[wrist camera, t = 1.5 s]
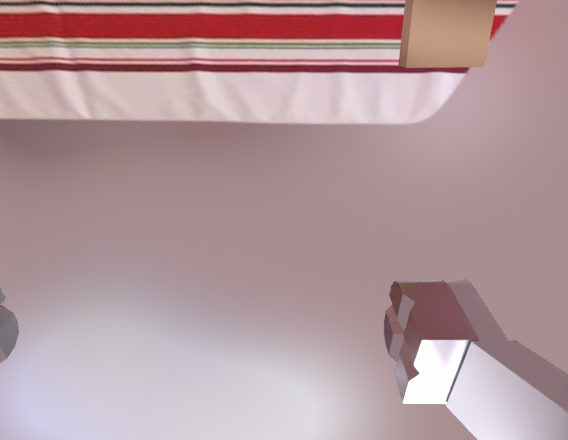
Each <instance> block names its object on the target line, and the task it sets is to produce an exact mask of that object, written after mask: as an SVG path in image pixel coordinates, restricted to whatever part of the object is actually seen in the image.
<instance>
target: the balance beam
mask: <svg viewBox="0 0 568 440" xmlns="http://www.w3.org/2000/svg"><path fill="white" fill-rule="evenodd" d="M496 3H497V0H405V10H404V19H403V29H402V38H401V48H400V57H399V66H402V67H405V68H426V67H484V65H485V59H486V54H487V49H488V44H489V39H490V34H491V28H492V23H493V18H494V13H495V8H496Z"/></svg>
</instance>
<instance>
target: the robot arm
mask: <svg viewBox="0 0 568 440" xmlns="http://www.w3.org/2000/svg"><path fill="white" fill-rule="evenodd" d="M389 296H390V299H391V302H392V306H391V307H389V308H388V309H387V310H386V313H385V319H384V337H385V343H386V347H387V351H388V354H389V356H391V357H392V358H393V359H394V360H395V361H396V362H397V364H396V368H395V372H394V375H395V378H396V381H397V384H398V387H399V391H400V394H401V397H402V400H403V403H437V404H439V403H441V404H446V406H447V407H448V408H449V410H450V411H451V412H452V413H453V414H454V415H455V416H456V417H457V418H458V419H459V420H460V421H461V422H462V423H463V424H464V425H465V426H466V428H467V429H468V430H469V431H470V432H471V433H472V434H473V435H474V436H475V437H476V438H477V439H478V440H568V374H567V373H565V372H564V371H562V370H561V369H559V368H557V367H556V366H554V365H553V364H551V363H550V362H548V361H547V360H545V359H544V358H542V357H541V356H539V355H537V354H536V353H535V352H533V351H531V350H530V349H528V348H527V347H525V346H524V345H522V344H521V343H519V342H518V341H509V340H508V339H507V337H506V336H505V334H504V333H503V331H502V330H501V328H500V327H499V325H498V323H497V322H496V321H495V319H494V317H493V316H492V314H491V313H490V311H489V310H488V308H487V307H486V305H485V303H484V302H483V300H482V299H481V297H480V296H479V294H478V293H477V291H476V290H475V288H474V286H473V285H472V283H471V282H469V281H468V280H465V279H464V280H442V281H439V280H437V281H394V282H393V284H392V285H391V289H390V293H389ZM5 298H6V297H5V295H4V294H3V292H2V290H1V288H0V363H1V362H2V361H4V360H5V359H7V358H8V356H9V355H10V353H11V352H12V350H13V349H14V347H15V345H16V341H17V337H18V334H19V329H18V322H17V319H16V317H15V315H14V313H13V312H11V311H10V310H8V309H7V308H5V307H4V306H2V304H3V302H4V300H5Z"/></svg>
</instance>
